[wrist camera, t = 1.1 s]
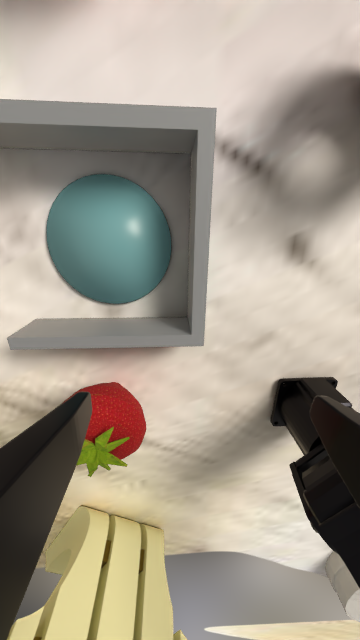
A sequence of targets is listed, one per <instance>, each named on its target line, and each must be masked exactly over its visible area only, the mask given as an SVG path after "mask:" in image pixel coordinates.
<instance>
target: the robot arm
mask: <svg viewBox="0 0 360 640" xmlns="http://www.w3.org/2000/svg"><path fill="white" fill-rule="evenodd" d="M283 383H284V384H283ZM337 383H338V381H337V380H336V379H335V378H333V377H324V378H323V377H318V378H287V379H281V380H280V381H279V382H278V387H277V392H276V397H275V401H274V406H273V411H272V416H271V423H272V425H273V426H286V427H287V429H288V430H289V432H290V433H291V435H292V437H293V438H294V440H295V441H296V443H297V445H298V446H299V448H300V449H301V451H302V453H303V454H304V456H303V457H302V458H300V459H299V460H297V461H296V462H293V463H291V464H290V465H289V466H290V469H291V471H292V476H293V478H294V481H295V484H296V487H297V490H298V493H299V496H300V498H301V501H302V504H303V507H304V510H305V513H306V515H307V518H308V519H309V521H310V523H311V526H312V528H313V529H314V530H315V531H316V532H317V533H319V534H320V536H321V537H322V538H323V540H324V541H325V542H326V543H327V544H328V546H329V547H330V548H331V549H332V550H333V551H334V552H336V553H337V554H339V556H340V557H341V559H342V560H343V562H344V563H345V565H346V567H347V568H348V570H349V571H350V573H351V575H352V577H353V578H354V580H355V582H356V583H357V585H358V587H359V588H360V413H358V412H356V411H355V410H354V409H353V408H352V404H351V403H350V402H349V401H348V400H347V399H346V398H345V397H344V396H343V395H342V394H341V393H339V392H338V391H337V390H336V386H337ZM91 415H92V401H91V394H90V392H78V393H76V394H75V395H73V396H72V397H71V398H69V399H68V400H66V401H65V402H64V403H62V404H61V405H60V406H58V407H57V408H55V409H54V410H53V411H51V412H50V413H48V414H47V415H46V416H44V417H43V418H42V419H40V420H39V421H37V422H36V423H35V424H33V425H32V426H30V427H29V428H28V429H26V430H25V431H24V432H22V433H21V434H19V435H18V436H17V437H15V438H14V439H12V440H11V441H10V442H8V443H7V444H6V445H4V446H3V447H1V448H0V640H7V637H8V635H9V632H10V630H11V627H12V625H13V622H14V620H15V617H16V615H17V612H18V609H19V607H20V605H21V602H22V600H23V597H24V595H25V592H26V590H27V587H28V585H29V582H30V580H31V577H32V574H33V572H34V570H35V567H36V565H37V562H38V560H39V557H40V555H41V552H42V550H43V547H44V545H45V542H46V540H47V537H48V535H49V532H50V530H51V527H52V525H53V522H54V520H55V517H56V515H57V512H58V510H59V507H60V505H61V502H62V500H63V497H64V495H65V492H66V490H67V487H68V485H69V482H70V480H71V477H72V475H73V472H74V470H75V467H76V465H77V462H78V459H79V457H80V454H81V450H82V447H83V443H84V440H85V436H86V433H87V429H88V426H89V422H90V419H91Z"/></svg>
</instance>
